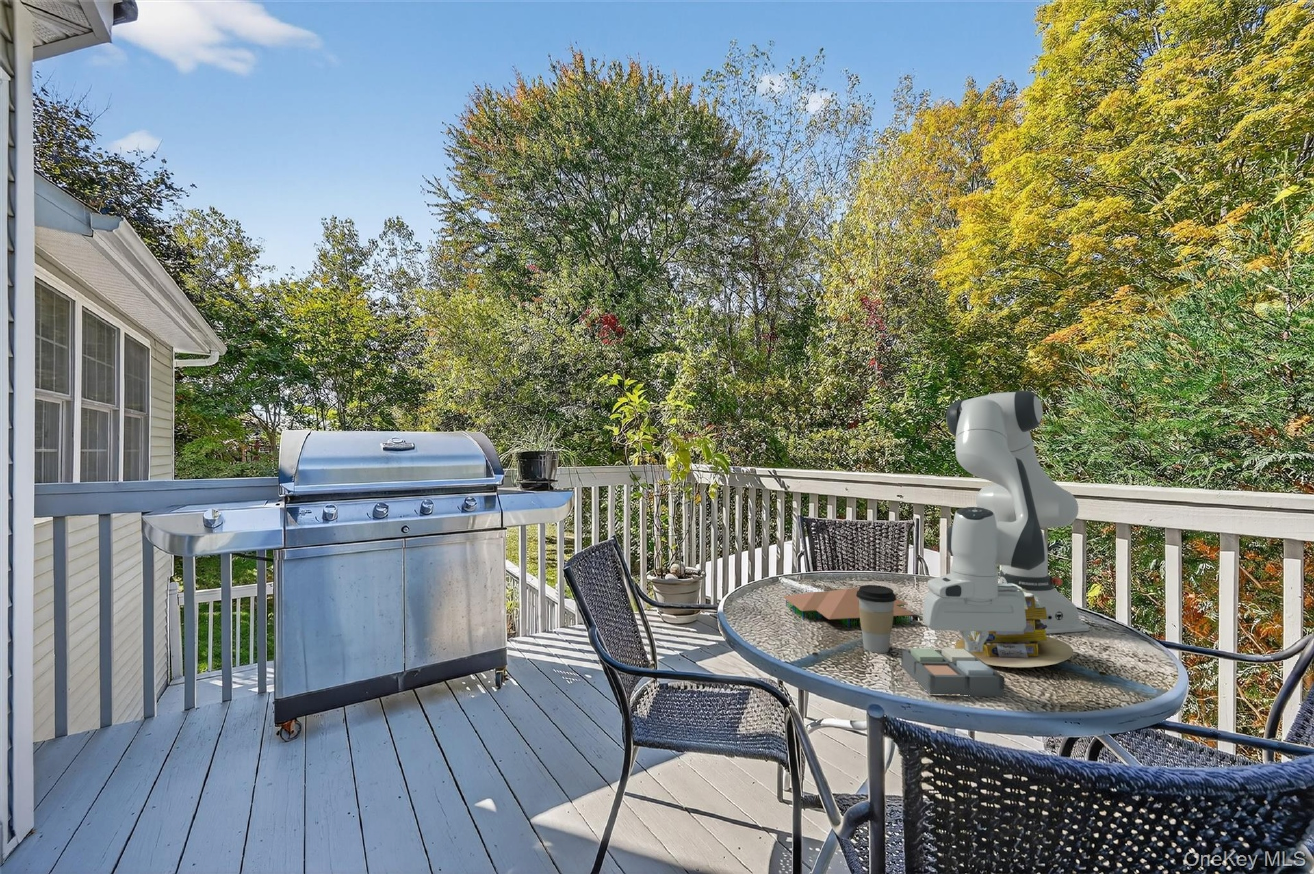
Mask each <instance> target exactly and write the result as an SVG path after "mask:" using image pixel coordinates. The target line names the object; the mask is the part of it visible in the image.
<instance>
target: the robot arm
mask: <svg viewBox="0 0 1314 874" xmlns="http://www.w3.org/2000/svg"><path fill="white" fill-rule="evenodd" d="M1043 410H1044V409H1043V405H1042V402H1041V401H1040V399H1039V397H1038V395H1037V394H1035V393H1034V392H1032V391H1030V390H1016V391H1011V392H1010V391H1009V392H1008V391H1006V392H996V393H987V394H986V395H981V396H977V397H972V398H968V399H960V400H957V401H955V402H952V403H951V404H950V405H949V406H948V408H947V409H946V415H945V416H946V417H945V420H946V422H945V423H946V427H947V428H948V431H949V433H950V434H951V435H952V436H954V437H955V441H954V442H955V443H954V447H955V448H954V449H955V459H956V461H957V463H958V464H959V466H961V468H962V469H964V470H965V471H966V472H967V473H968V474H971V475H972V476H974V477H977V478H980V479H982V480H986V481H988V482H992V483H994V484H990V485H985V486H983V487H982V488H981V489H980V490H979V491H978V493H977V494H976V499H975V500H976V501H975V502H976V504H975V505H976V506H967V507H962V508H959V509H957V510H956V511H955V513H954V515H953V522H952V524H951V525H950V526H949V527H947V531H946V532H947V533H946V534H947V542H946V543H947V544H946V545H947V546H946V547H947V548H946V549H947V550H946V551H948V553H950V555H951V556H952V563H951V567H950V573H947V574H944V575H940V576H938V577H934V578H931V579H929V580H927V583H926V585H927V587H926V588H927V589H928V590H929V591H928V592H927V593H926V594H925V597H924V600H923V608H922V621H923V624H924V625H925V626H926V627H927V628H928V629H930V631H931V630H932V631H951V632H952V631H953V632H956V631H957V632H959V634H960V636H961V639H964V641H965V649H966V650H967V651H975V652H982V651H983V644H984V642H985V641H986V639H987V638H988V636H989V631H1019V632H1021V631H1023V630H1024V629H1025V628H1026V615H1025V608H1024V597H1025V595H1024V592H1023V591H1022V590H1021V589H1019V588H1018V587H1017V586H1019V587H1021V588H1022V589H1024V590H1025V589H1026V591H1029V592H1031V593H1032V594H1034V597H1035V601H1037V602H1039V603H1040V604H1041V605H1043V606H1044V607H1045V608H1046V614H1047V619H1040V620H1041V623H1043V624H1044V625H1047V628H1045V631H1046V635H1048V634H1059V633H1060V634H1061V633H1062V634H1063V633H1077V632H1079V633H1080V632H1089V631H1090V627H1089V625H1088V624H1087V623H1086V622H1084V621H1082V620H1080V616H1079V611H1078V608H1077V606H1076V605H1075V603H1074V602H1072V601H1071V599H1068V598H1067V597H1066V596H1065V595H1063V593H1060V592H1059V591H1058V590H1057V589H1056V588H1055V587H1054V585H1056V586H1059V587H1060V586H1062V585H1063V580H1062V578H1059V577H1056V576H1054V577H1052V576H1050V575H1049V574H1048V570H1049V569H1048V559H1049V558H1048V554H1049V553H1048V547H1047V543H1046V542H1047V541H1046V538H1045V535H1044V533H1043V531H1042V528H1041V527H1043V528H1062V527H1063V528H1064V527H1069V526H1070V525H1071V524H1072V523H1074V521H1075V520H1076V519H1077V517H1078V515H1079V504H1078V502H1077V499H1076V497H1075V496H1074V495H1073V494H1072V492H1070V491H1068V490H1066V489H1064V488H1063V487H1061V486H1060V485H1058V484H1057V483H1056V482H1054V480H1052V479H1051V478H1050V477H1049V476H1048V475H1047V473H1046V472H1045V471H1044V470H1043V468H1042V466H1041V464H1040V463H1039V460H1038V459H1039V458H1038V456H1037V453H1036V450H1035V446H1034V443H1033V438H1032V435H1031V432H1030V431H1032V430H1035V429H1037V427H1039V426H1040V424H1041V423H1042V418H1043V414H1044V413H1043ZM997 566H1001V569H1000V570H998V567H997ZM1008 583H1012V584H1015V585H1017V584H1018V585H1017V586H998V584H1008ZM1018 590H1019V591H1018ZM1027 593H1028V592H1027ZM971 631H977V633H979V635H978V637H977V638H976V640H975V641H970V639H969V637H968V636H971Z"/></svg>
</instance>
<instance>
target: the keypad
mask: <svg viewBox="0 0 1314 874" xmlns="http://www.w3.org/2000/svg"><path fill="white" fill-rule="evenodd" d="M934 650H935V651H936V652H937V653H939V654H940V655H941V656H942V657H943V662H935V661H918V660H917V659H916V658H914V657H913V656H912V655H911V648H910V649H909V648H907V649H906V648H905V649H904V648H902V649H901V652H900V653H901V654H900V655H901V657H900V658H901V659H900V661H901V662H900V663H901V665H900V667H901V668H902V669H903V670H904V672H905V673H907V675H909V676H910V678H912V679H913V680H914V679H915V680H914V681H915V682H916V681H917V682H918V683H917V682H916V683H917V684H918V685H919V684H920V685H921V686H922V687H923V688H924V689H925V690H927V691H928V692H929V693H930V694H960V695H968V696H967V697H973V696H1004V697H1005V676H1003V675H1001V674H1000V673H999V672H997V670H995V669H994V668H992V667H991V665H988V664H985V663H984V662H983V661H981V660H980V659H979V658H977V657H976V656H975V655H973V654H972V653H971V652H969V651H967V650H966V651H967V652H969V653H970V654H971V655H973V656H974V657H975V661H981V662H982V663H984V664H985V665H986V666H988V667H989V668H990V669H992V670H993V675H967V674H965V673H964V672H963V671H962V670H961V669H959V668H958V667H957V662H951V661H950V660H948V659H947V658H946V657H945V656H943V655H942V649H934ZM924 665H934V666H948V667H949V668H951V669H952V670H953V671H954V672H955V673H957V674H958V675H933V674H932V673H931V672H930V671H929V670H927V669H926V668H925V667H924ZM920 685H919V686H920ZM921 686H920V687H921ZM922 687H921V688H922ZM923 688H922V689H923ZM924 689H923V690H924ZM925 690H924V691H925ZM969 695H970V696H969Z"/></svg>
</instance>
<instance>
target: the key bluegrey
mask: <svg viewBox="0 0 1314 874" xmlns="http://www.w3.org/2000/svg"><path fill="white" fill-rule="evenodd" d="M988 666H989V665H988ZM988 666H986V665H985V664H984V663H982V662H981V661H957V667H958V668H959V669H961V670H962V671H963V672H964V673H965V674H967V675H993V670H992V669H993V668H992V669H990V668H989V667H988Z"/></svg>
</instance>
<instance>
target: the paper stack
mask: <svg viewBox="0 0 1314 874" xmlns="http://www.w3.org/2000/svg"><path fill="white" fill-rule="evenodd" d="M1017 585H1018V584H1017ZM1017 585H1015V584H1012V583H1008V584H1000V583H998V586H1017ZM1017 587H1018V588H1019V589H1021V590H1022V591H1023V592H1024V595H1025V597H1024V608H1025V615H1026V628H1025V629H1024V630H1023V631H1021V632H1019V631H989V636H988V638H987V639H986V641H985V642H984V644H983V651H982V652H975V651H969V652H971V653H972V654H973V655H975V656H976V657H977V658H979V659H980V660H981V661H983V662H984V663H985V664H987V665H988V666H996V667H1006V668H1007V667H1008V668H1034V667H1045V666H1050V665H1056V664H1059V663H1063V662H1065V661H1066V660H1068V659H1070V658H1072V656H1073V654H1074V651H1075V650H1074V649H1073V647H1072V646H1071V645H1070V644H1068V643H1066V642H1065V641H1062V640H1060V639H1057V638H1054V637H1050V636H1047V634H1046V631H1045V628H1047V625H1044V624H1043V623H1041V620H1040V619H1047V614H1046V608H1045V607H1044V606H1043V605H1041V604H1040V603H1039V602H1037V601H1035V597H1034V594H1032V593H1031V592H1029V591H1026V589H1025V590H1024V589H1022V588H1021V587H1019V586H1017ZM1018 591H1019V590H1018ZM1027 592H1028V593H1027ZM978 635H979V633H977V631H971V635H970V636H968V637H969V639H970V641H975V640H976V638H977V637H978ZM955 644H956V645H955ZM953 647H954V649H965V641H964V639H963V638H961V639H959V640H957V641H956V642H955V643H954V646H953ZM965 650H966V649H965Z"/></svg>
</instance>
